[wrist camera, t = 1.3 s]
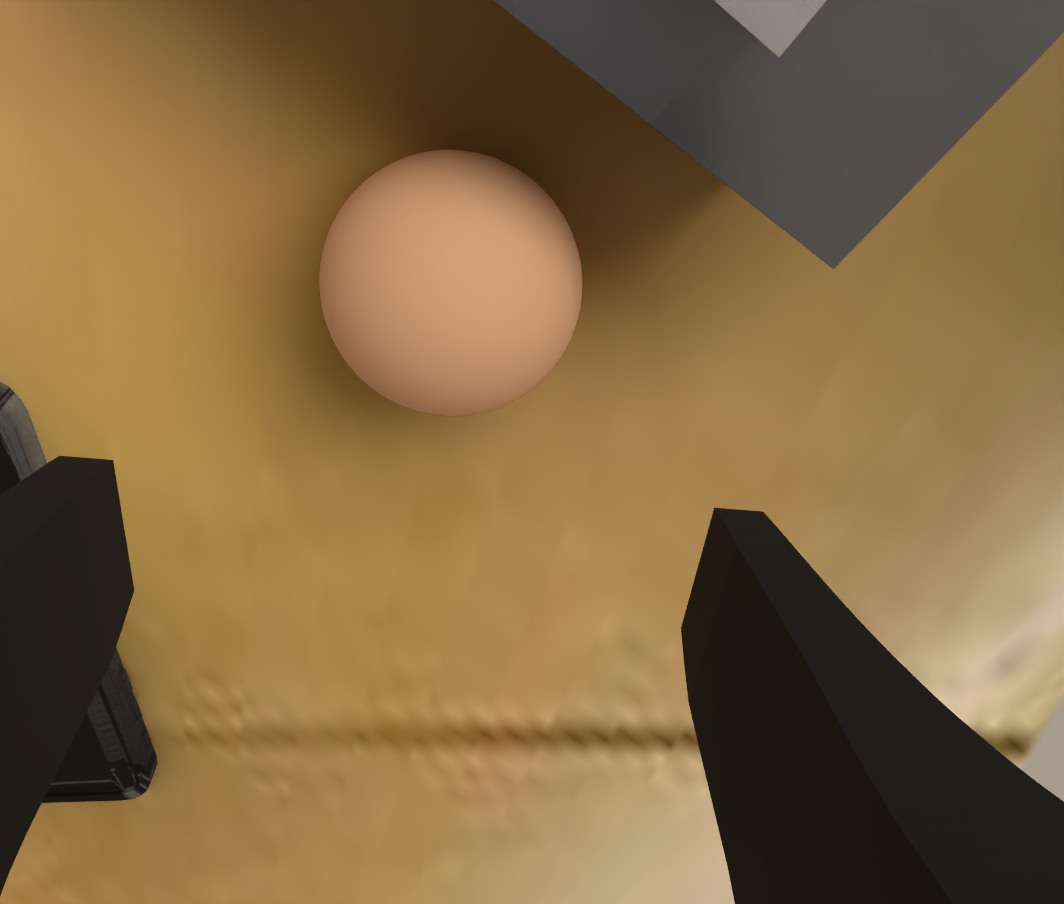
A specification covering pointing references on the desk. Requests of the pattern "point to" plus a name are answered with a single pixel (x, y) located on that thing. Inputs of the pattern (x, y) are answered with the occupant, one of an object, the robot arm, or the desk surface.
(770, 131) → the grey box with opening
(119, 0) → the desk surface
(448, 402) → the bead
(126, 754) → the phone
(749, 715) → the robot arm
